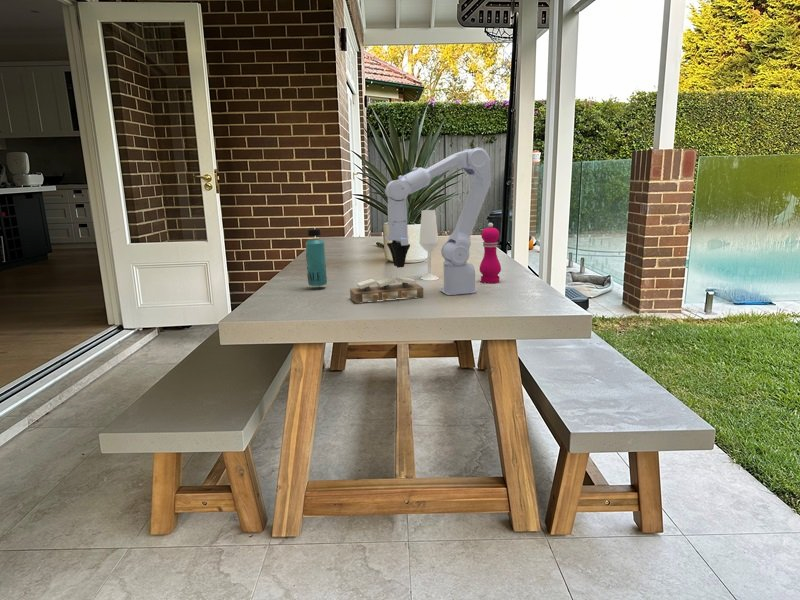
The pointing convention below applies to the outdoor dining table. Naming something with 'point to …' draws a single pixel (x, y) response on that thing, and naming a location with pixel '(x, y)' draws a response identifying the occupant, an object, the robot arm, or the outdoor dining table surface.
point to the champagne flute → (428, 237)
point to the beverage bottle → (315, 260)
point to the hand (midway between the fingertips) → (399, 266)
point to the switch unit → (386, 292)
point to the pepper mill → (490, 256)
